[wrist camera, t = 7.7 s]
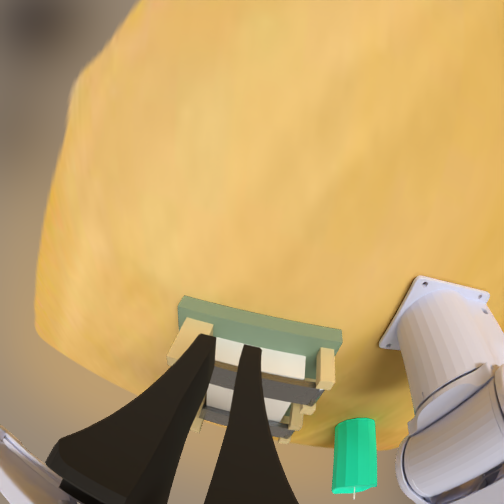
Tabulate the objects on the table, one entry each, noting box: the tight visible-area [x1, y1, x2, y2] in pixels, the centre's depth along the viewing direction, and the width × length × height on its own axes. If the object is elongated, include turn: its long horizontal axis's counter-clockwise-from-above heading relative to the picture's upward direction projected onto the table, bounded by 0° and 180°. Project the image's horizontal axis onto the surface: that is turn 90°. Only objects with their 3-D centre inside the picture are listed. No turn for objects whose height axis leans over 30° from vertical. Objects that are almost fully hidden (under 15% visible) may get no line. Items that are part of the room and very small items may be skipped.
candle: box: [332, 418, 377, 499], centre depth 26 cm, size 6×6×12 cm
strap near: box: [209, 360, 324, 407], centre depth 21 cm, size 11×3×1 cm, turn 81°
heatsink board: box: [167, 296, 342, 444], centre depth 24 cm, size 14×17×6 cm
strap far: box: [199, 404, 295, 439], centre depth 25 cm, size 11×3×1 cm, turn 81°
